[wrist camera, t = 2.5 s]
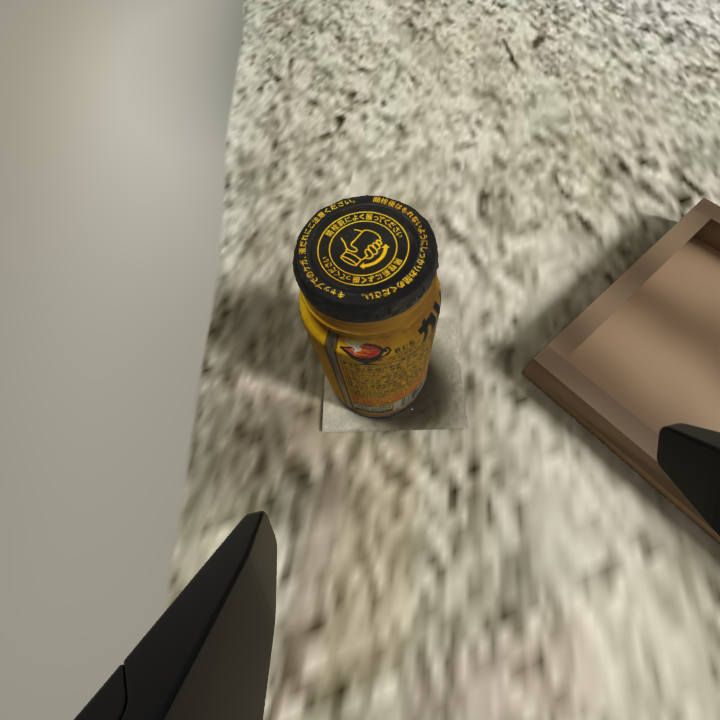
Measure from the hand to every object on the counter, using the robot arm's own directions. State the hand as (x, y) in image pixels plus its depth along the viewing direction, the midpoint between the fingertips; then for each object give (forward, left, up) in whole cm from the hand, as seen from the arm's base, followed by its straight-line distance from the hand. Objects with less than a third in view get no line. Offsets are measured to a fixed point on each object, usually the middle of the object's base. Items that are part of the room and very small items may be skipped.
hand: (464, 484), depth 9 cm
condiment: (+4, +7, -14) cm, 16 cm away
